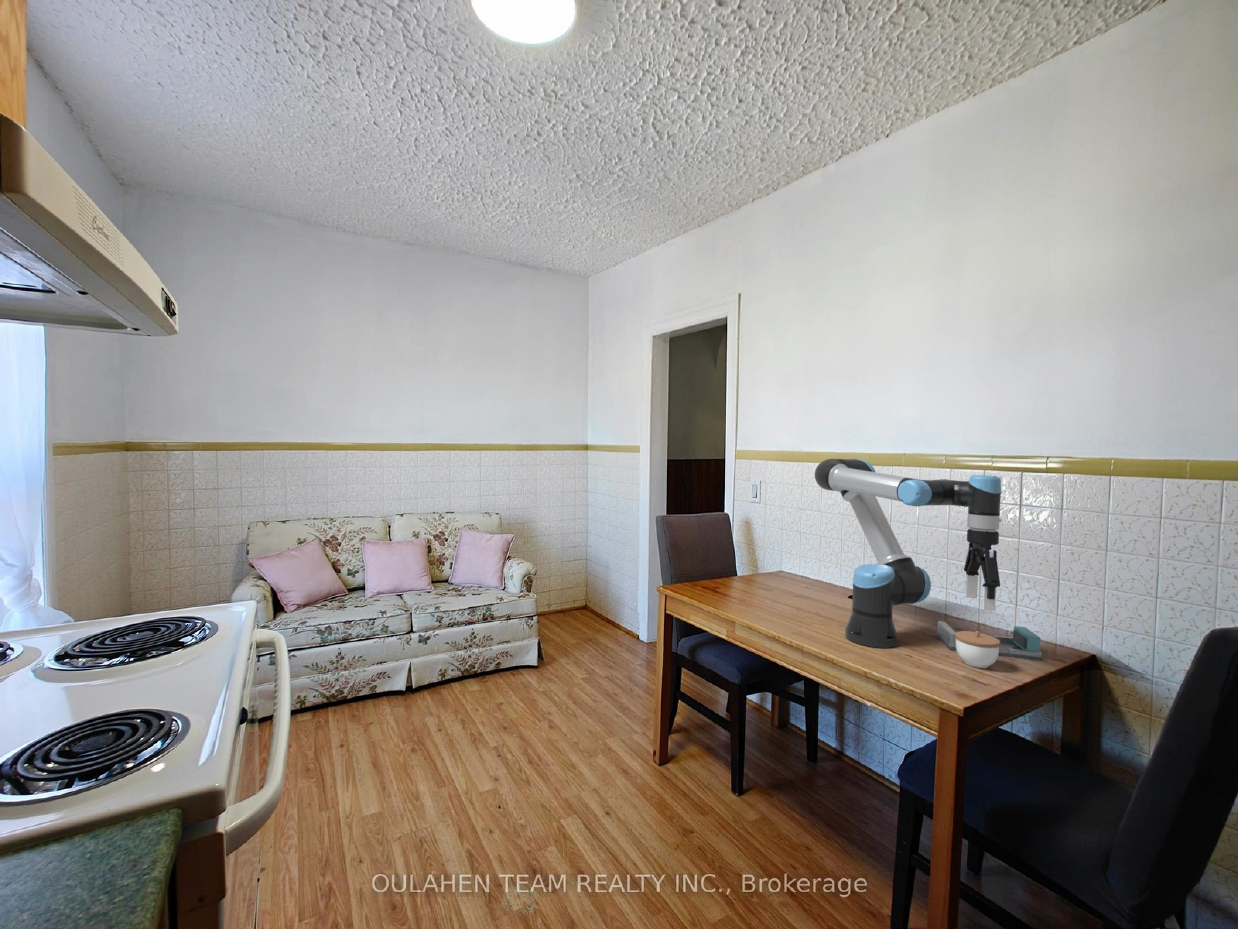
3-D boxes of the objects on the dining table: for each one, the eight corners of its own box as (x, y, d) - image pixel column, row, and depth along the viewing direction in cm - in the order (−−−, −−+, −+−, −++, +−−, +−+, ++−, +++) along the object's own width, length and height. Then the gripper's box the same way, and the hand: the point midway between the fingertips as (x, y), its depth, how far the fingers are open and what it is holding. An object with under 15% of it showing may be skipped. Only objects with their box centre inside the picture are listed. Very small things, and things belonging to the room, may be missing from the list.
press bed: (949, 649, 166) (950, 633, 166) (937, 636, 178) (937, 621, 178) (1041, 660, 159) (1042, 643, 159) (1022, 645, 172) (1022, 629, 171)
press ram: (1025, 652, 161) (1026, 636, 161) (1011, 641, 171) (1012, 625, 171) (1039, 654, 160) (1040, 637, 160) (1024, 643, 170) (1025, 627, 170)
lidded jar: (997, 675, 147) (999, 641, 147) (952, 664, 154) (953, 632, 154) (999, 663, 156) (1001, 631, 156) (956, 654, 162) (957, 623, 162)
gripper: (1017, 536, 141) (1013, 617, 141) (981, 524, 165) (978, 594, 165) (984, 534, 143) (980, 614, 143) (954, 523, 167) (951, 591, 167)
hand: (979, 603), depth 154 cm, fingers open, 13 cm apart
